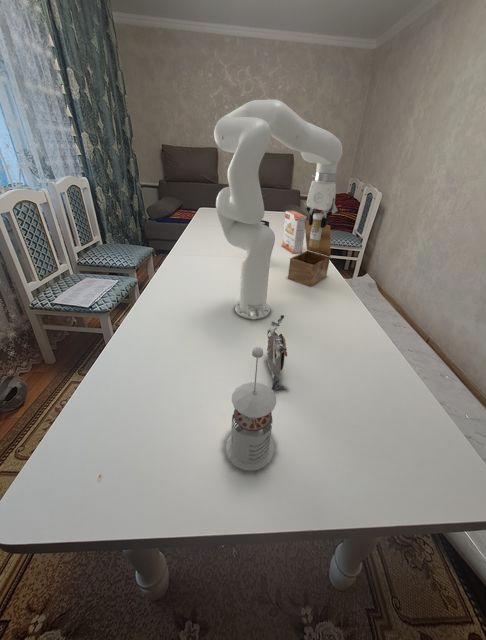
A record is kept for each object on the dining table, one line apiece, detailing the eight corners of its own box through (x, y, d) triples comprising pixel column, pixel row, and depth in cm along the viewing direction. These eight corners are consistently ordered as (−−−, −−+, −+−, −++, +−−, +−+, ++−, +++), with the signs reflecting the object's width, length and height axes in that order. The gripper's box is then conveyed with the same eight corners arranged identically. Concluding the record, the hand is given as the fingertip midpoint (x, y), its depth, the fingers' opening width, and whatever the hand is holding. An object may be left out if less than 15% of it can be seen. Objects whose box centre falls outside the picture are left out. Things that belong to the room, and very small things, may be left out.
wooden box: (310, 286, 129) (314, 265, 124) (287, 278, 134) (290, 258, 130) (326, 276, 140) (330, 257, 135) (304, 269, 146) (307, 250, 141)
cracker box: (281, 245, 176) (285, 210, 166) (290, 245, 179) (294, 210, 169) (293, 253, 165) (297, 216, 155) (302, 252, 168) (307, 215, 158)
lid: (329, 226, 123) (335, 219, 125) (304, 220, 129) (310, 214, 131) (329, 256, 135) (335, 249, 137) (306, 250, 141) (312, 243, 143)
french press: (215, 451, 58) (214, 351, 46) (249, 413, 66) (256, 320, 54) (256, 481, 53) (267, 379, 41) (287, 436, 62) (303, 340, 50)
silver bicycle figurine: (288, 390, 74) (294, 348, 67) (271, 390, 73) (276, 348, 67) (279, 352, 87) (284, 314, 80) (265, 352, 86) (268, 314, 80)
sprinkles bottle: (306, 245, 123) (311, 213, 117) (312, 243, 126) (317, 212, 120) (315, 248, 121) (321, 215, 114) (321, 246, 124) (327, 214, 117)
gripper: (300, 175, 112) (294, 223, 121) (341, 181, 104) (332, 232, 113) (310, 175, 118) (303, 220, 126) (349, 180, 109) (340, 228, 118)
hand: (317, 225), depth 119 cm, fingers closed on sprinkles bottle, 4 cm apart
